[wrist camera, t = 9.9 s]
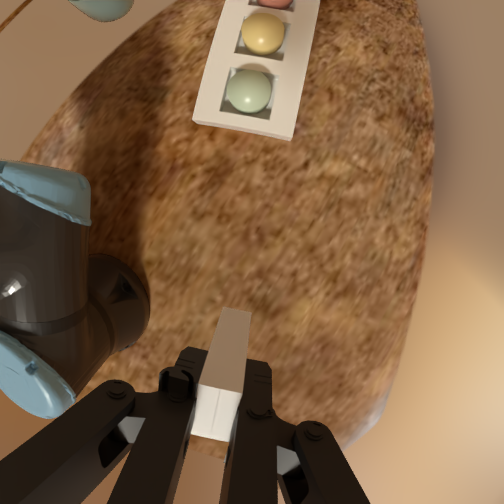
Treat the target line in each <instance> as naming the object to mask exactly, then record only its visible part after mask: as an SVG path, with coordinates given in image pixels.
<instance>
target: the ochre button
mask: <svg viewBox="0 0 504 504" xmlns="http://www.w3.org/2000/svg"><path fill="white" fill-rule="evenodd" d="M241 32H242V38H243V43H244V45H245V47H246V48H247V49H248V50H249V51H250V52H252V53H254V54H257V55H269V54H272V53H275V52H276V51H278V50H279V49H280V48H281V46H282V44H283V38H284V25H283V23H282V21H281V20H280V19H279V18H278V17H276V16H275V15H272V14H269V13H256V14H253V15H251V16H249V17H248V18H246V19H245V20H244V22H243V23H242V26H241Z"/></svg>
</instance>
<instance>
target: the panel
mask: <svg viewBox="0 0 504 504" xmlns="http://www.w3.org/2000/svg"><path fill="white" fill-rule="evenodd" d="M319 5H320V0H293V3H292V5H291V6H290V7H288V8H287V9H285V10H279V9H273V8H266V7H261V6H260V5H259V4H258V2H257V0H226V2H225V5H224V7H223V11H222V14H221V17H220V20H219V23H218V26H217V29H216V32H215V36H214V39H213V42H212V46H211V49H210V53H209V56H208V60H207V63H206V67H205V70H204V74H203V78H202V81H201V85H200V89H199V93H198V97H197V101H196V105H195V109H194V113H193V118H192V120H193V121H195V122H196V123H197V124H203V125H209V126H216V127H222V128H228V129H233V130H239V131H244V132H250V133H255V134H260V135H265V136H269V137H274V138H279V139H283V140H287V141H290V140H291V139H292V136H293V132H294V127H295V122H296V118H297V113H298V108H299V103H300V99H301V94H302V89H303V84H304V79H305V75H306V70H307V65H308V60H309V55H310V50H311V45H312V40H313V35H314V30H315V25H316V20H317V15H318V10H319ZM256 13H269V14H272V15H275V16H276V17H278V18H279V19H280V20H281V21H282V23H283V25H284V38H283V44H282V46H281V48H280V49H279V50H278V51H276V52H275V53H272V54H269V55H257V54H254V53H252V52H250V51H249V50H248V49H247V48H246V47H245V45H244V43H243V38H242V32H241V26H242V23H243V22H244V20H245V19H246V18H248V17H249V16H251V15H253V14H256ZM243 70H256V71H259V72H261V73H262V74H264V75H265V76H266V77H267V79H268V80H269V82H270V85H271V97H270V102H269V104H268V106H267V107H266V108H265V109H264V110H263V111H261V112H259V113H257V114H243V113H241V112H239V111H237V110H236V109H235V108H234V107H233V106H232V104H231V102H230V100H229V98H228V95H227V85H228V82H229V80H230V79H231V77H232V76H233V75H235V74H236V73H238V72H240V71H243Z"/></svg>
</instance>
